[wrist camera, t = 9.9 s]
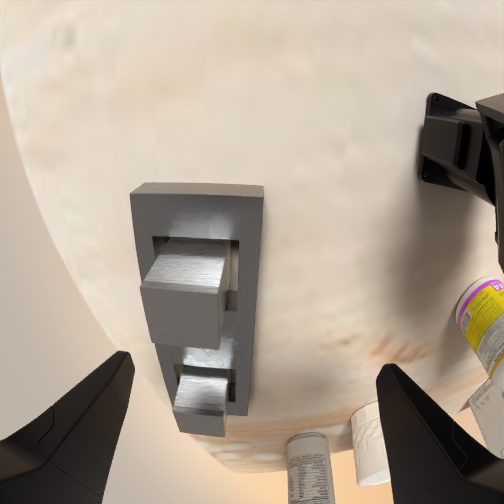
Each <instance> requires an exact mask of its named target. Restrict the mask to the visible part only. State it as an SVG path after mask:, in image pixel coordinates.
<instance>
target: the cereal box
mask: <svg viewBox="0 0 504 504" xmlns="http://www.w3.org/2000/svg"><path fill="white" fill-rule="evenodd" d="M468 403H469V405H470V407H471V409H472V412H473V414H474V416H475V418H476V421H477V423H478V425H479V428H480V430H481V433H482V435H483V438H484V440H485V443H486V445H487V448H488V450H489V451H490V452H491V453H493V454H494V455H495V456H497V457H499V458H502V459H504V391H500V390H498V389H497V388H496V387H495V386H494V384H493V382H492V381H491V379H490V378H489V379H488V380H487V381H486V382H485V383H484V384H483V385H482V386H481V387H480V389H479V390H478V391H477V392H476V393H475V394H474V395H473V396H472V397H471V398H470V399H469V400H468Z"/></svg>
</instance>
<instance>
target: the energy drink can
mask: <svg viewBox="0 0 504 504" xmlns="http://www.w3.org/2000/svg"><path fill="white" fill-rule="evenodd" d="M287 471H288V504H335V496H334V486H333V477H332V469H331V461H330V453H329V445H328V440H327V439H325V438H324V436H323V435H322V434H319V433H304V434H300V435H297V436H294V437H293V438H292V439H291V440H290V443H289V444H288V445H287Z"/></svg>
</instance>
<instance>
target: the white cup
mask: <svg viewBox="0 0 504 504" xmlns="http://www.w3.org/2000/svg"><path fill="white" fill-rule="evenodd" d="M351 426H352V434H353V435H352V440H353V451H354V459H355V468H356V477H357V485H358V486H371V485H377V484H381V483H385V482H388V481H391V479H390V472H389V466H388V460H387V454H386V448H385V443H384V438H383V433H382V428H381V423H380V416H379V407H378V401H377V402H374V403H371V404H369V405H366V406H364V407H362V408H361V409H359V410H358V411H356V412H355V413H354V414H353V416H352V417H351Z"/></svg>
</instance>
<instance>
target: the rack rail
mask: <svg viewBox="0 0 504 504" xmlns="http://www.w3.org/2000/svg"><path fill="white" fill-rule="evenodd" d="M130 202H131V212H132V220H133V229H134V237H135V244H136V251H137V257H138V264H139V270H140V276H141V282H143V281H144V279H145V277H146V276H147V274H148V272H149V271H150V269H151V267H152V266H153V264H154V262H155V261H156V259H157V258H158V256H159V254H160V253H161V251H162V250H163V248H164V246H165V245H166V242H165V236H169V237H189V238H208V239H227V240H239V270H238V291H232V290H229V291H228V297H227V303H226V309H225V315H224V321H223V328H222V334H221V340H220V347H219V350H212V349H201V348H192V347H183V346H174V345H166V344H159V343H155V347H156V351H157V355H158V359H159V363H160V366H161V370H162V374H163V377H164V381H165V384H166V388H167V391H168V394H169V397H170V401H171V404H172V407H174V403H175V399H176V395H177V391H178V387H179V383H180V379H181V375H182V371H183V365H192V366H201V367H211V368H223V369H236V383H230V390H229V400H228V410H227V415H238V416H247V413H248V400H249V388H250V375H251V362H252V350H253V336H254V323H255V310H256V296H257V282H258V268H259V254H260V240H261V225H262V211H263V186H256V185H237V184H210V183H144V184H142V185H141V186H139V187H138V188H137V189H135V190H134V191H133V192H131V193H130ZM182 364H183V365H182Z"/></svg>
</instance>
